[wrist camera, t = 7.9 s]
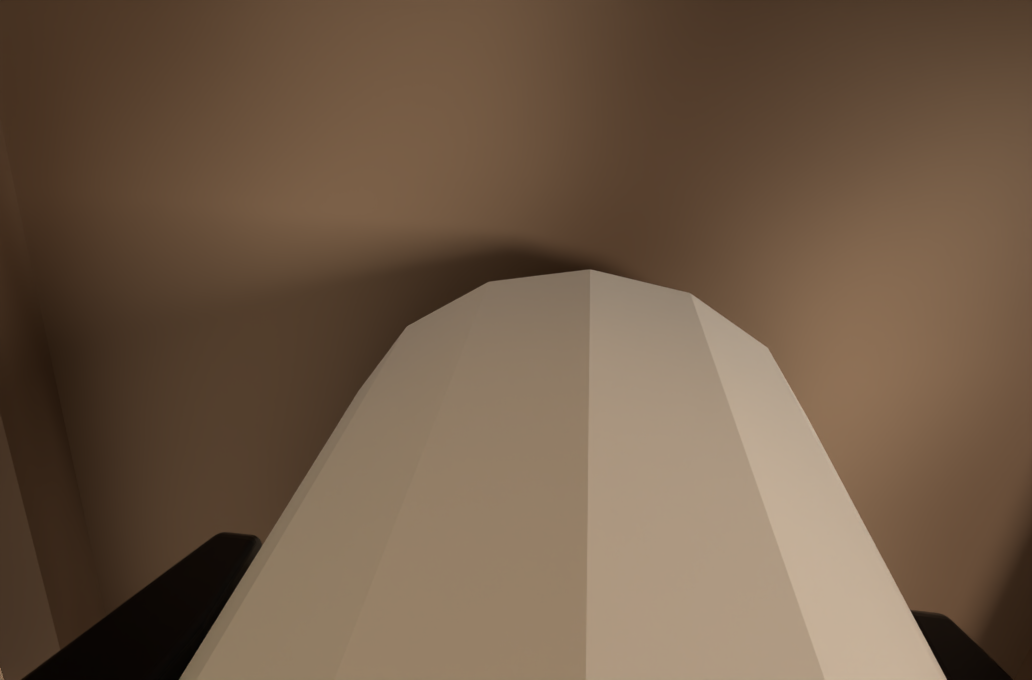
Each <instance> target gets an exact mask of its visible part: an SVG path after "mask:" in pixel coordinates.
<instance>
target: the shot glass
mask: <svg viewBox="0 0 1032 680" xmlns="http://www.w3.org/2000/svg"><path fill="white" fill-rule="evenodd" d="M179 680H947V679H946V677H945V675H944V673H943V671H942V669H941V667H940V666H939V664H938V662H937V660H936V658H935V656H934V654H933V652H932V651H931V649H930V647H929V645H928V643H927V641H926V639H925V637H924V636H923V634H922V632H921V630H920V628H919V626H918V624H917V622H916V620H915V619H914V617H913V615H912V613H911V611H910V609H909V607H908V605H907V604H906V602H905V600H904V598H903V596H902V594H901V592H900V590H899V588H898V587H897V585H896V583H895V581H894V579H893V577H892V575H891V573H890V572H889V570H888V568H887V566H886V564H885V562H884V560H883V558H882V557H881V555H880V553H879V551H878V549H877V547H876V545H875V543H874V541H873V540H872V538H871V536H870V534H869V532H868V530H867V528H866V526H865V525H864V523H863V521H862V519H861V517H860V515H859V513H858V511H857V510H856V508H855V506H854V504H853V502H852V500H851V498H850V496H849V494H848V493H847V491H846V489H845V487H844V485H843V483H842V481H841V479H840V478H839V476H838V474H837V472H836V470H835V468H834V466H833V464H832V462H831V461H830V459H829V457H828V455H827V453H826V451H825V449H824V447H823V446H822V444H821V442H820V440H819V438H818V436H817V434H816V432H815V431H814V429H813V427H812V425H811V423H810V421H809V419H808V418H807V416H806V414H805V412H804V411H803V409H802V407H801V405H800V404H799V402H798V400H797V398H796V396H795V395H794V393H793V391H792V389H791V388H790V386H789V384H788V382H787V381H786V379H785V377H784V375H783V374H782V372H781V370H780V368H779V367H778V365H777V363H776V361H775V360H774V358H773V356H772V354H771V353H770V351H769V349H768V348H767V347H766V346H764V345H763V344H762V343H760V342H759V341H757V340H756V339H754V338H753V337H752V336H750V335H749V334H747V333H746V332H745V331H743V330H742V329H740V328H739V327H737V326H736V325H735V324H733V323H732V322H730V321H729V320H728V319H726V318H725V317H723V316H722V315H720V314H719V313H718V312H716V311H715V310H713V309H712V308H711V307H709V306H708V305H706V304H705V303H703V302H702V301H701V300H699V299H698V298H696V297H695V296H694V295H692V294H691V293H687V292H683V291H679V290H675V289H671V288H666V287H662V286H658V285H654V284H650V283H646V282H641V281H637V280H633V279H629V278H625V277H621V276H616V275H612V274H608V273H604V272H600V271H595V270H591V269H588V270H580V271H572V272H564V273H555V274H547V275H539V276H531V277H523V278H515V279H506V280H498V281H490V282H487V283H485V284H484V285H482V286H480V287H478V288H476V289H474V290H473V291H471V292H469V293H467V294H465V295H463V296H462V297H460V298H458V299H456V300H454V301H452V302H451V303H449V304H447V305H445V306H443V307H441V308H440V309H438V310H436V311H434V312H432V313H430V314H428V315H427V316H425V317H423V318H421V319H419V320H417V321H416V322H414V323H412V324H410V325H408V326H407V327H406V328H405V330H404V331H403V332H402V334H401V335H400V336H399V338H398V339H397V340H396V342H395V343H394V344H393V346H392V347H391V348H390V350H389V351H388V352H387V354H386V355H385V356H384V358H383V359H382V360H381V362H380V363H379V364H378V366H377V367H376V368H375V370H374V371H373V372H372V374H371V375H370V376H369V378H368V379H367V380H366V382H365V383H364V384H363V386H362V387H361V388H360V390H359V391H358V392H357V394H356V396H355V397H354V399H353V401H352V402H351V404H350V405H349V407H348V409H347V410H346V412H345V413H344V415H343V417H342V418H341V420H340V421H339V423H338V425H337V426H336V428H335V429H334V431H333V433H332V434H331V436H330V438H329V439H328V441H327V442H326V444H325V446H324V447H323V449H322V450H321V452H320V454H319V455H318V457H317V458H316V460H315V462H314V463H313V465H312V466H311V468H310V470H309V471H308V473H307V475H306V476H305V478H304V479H303V481H302V483H301V484H300V486H299V487H298V489H297V491H296V492H295V494H294V495H293V497H292V499H291V500H290V502H289V503H288V505H287V507H286V508H285V510H284V512H283V513H282V515H281V516H280V518H279V520H278V521H277V523H276V524H275V526H274V528H273V529H272V531H271V532H270V534H269V536H268V537H267V539H266V540H265V542H264V544H263V545H262V547H261V549H260V550H259V552H258V553H257V555H256V557H255V558H254V560H253V561H252V563H251V565H250V566H249V568H248V569H247V571H246V573H245V574H244V576H243V577H242V579H241V581H240V582H239V584H238V586H237V587H236V589H235V590H234V592H233V594H232V595H231V597H230V598H229V600H228V602H227V603H226V605H225V606H224V608H223V610H222V611H221V613H220V614H219V616H218V618H217V619H216V621H215V623H214V624H213V626H212V627H211V629H210V631H209V632H208V634H207V635H206V637H205V639H204V640H203V642H202V643H201V645H200V647H199V648H198V650H197V651H196V653H195V655H194V656H193V658H192V660H191V661H190V663H189V664H188V666H187V668H186V669H185V671H184V672H183V674H182V676H181V677H180V679H179Z"/></svg>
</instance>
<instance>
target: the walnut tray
mask: <svg viewBox="0 0 1032 680" xmlns="http://www.w3.org/2000/svg"><path fill="white" fill-rule="evenodd" d="M588 269H591V270H595V271H600V272H604V273H608V274H612V275H616V276H621V277H625V278H629V279H633V280H637V281H641V282H646V283H650V284H654V285H658V286H662V287H666V288H671V289H675V290H679V291H683V292H687V293H691V294H692V295H694V296H695V297H696V298H698V299H699V300H701V301H702V302H703V303H705V304H706V305H708V306H709V307H711V308H712V309H713V310H715V311H716V312H718V313H719V314H720V315H722V316H723V317H725V318H726V319H728V320H729V321H730V322H732V323H733V324H735V325H736V326H737V327H739V328H740V329H742V330H743V331H745V332H746V333H747V334H749V335H750V336H752V337H753V338H754V339H756V340H757V341H759V342H760V343H762V344H763V345H764V346H766V347H767V348H768V349H769V351H770V353H771V354H772V356H773V358H774V360H775V361H776V363H777V365H778V367H779V368H780V370H781V372H782V374H783V375H784V377H785V379H786V381H787V382H788V384H789V386H790V388H791V389H792V391H793V393H794V395H795V396H796V398H797V400H798V402H799V404H800V405H801V407H802V409H803V411H804V412H805V414H806V416H807V418H808V419H809V421H810V423H811V425H812V427H813V429H814V431H815V432H816V434H817V436H818V438H819V440H820V442H821V444H822V446H823V447H824V449H825V451H826V453H827V455H828V457H829V459H830V461H831V462H832V464H833V466H834V468H835V470H836V472H837V474H838V476H839V478H840V479H841V481H842V483H843V485H844V487H845V489H846V491H847V493H848V494H849V496H850V498H851V500H852V502H853V504H854V506H855V508H856V510H857V511H858V513H859V515H860V517H861V519H862V521H863V523H864V525H865V526H866V528H867V530H868V532H869V534H870V536H871V538H872V540H873V541H874V543H875V545H876V547H877V549H878V551H879V553H880V555H881V557H882V558H883V560H884V562H885V564H886V566H887V568H888V570H889V572H890V573H891V575H892V577H893V579H894V581H895V583H896V585H897V587H898V588H899V590H900V592H901V594H902V596H903V598H904V600H905V602H906V604H907V605H908V607H909V609H910V610H917V611H926V612H935V613H940V614H943V615H945V616H947V617H948V618H950V619H951V620H952V621H953V622H954V623H955V624H956V625H958V626H959V627H960V628H961V629H962V630H963V631H964V632H965V633H966V634H967V635H968V636H969V637H970V638H971V639H972V640H973V641H974V642H975V643H976V644H977V645H978V646H979V647H980V648H981V649H983V650H984V651H985V652H986V653H987V654H988V655H989V656H990V657H991V658H992V659H993V660H994V661H995V662H996V663H997V664H998V665H999V666H1000V667H1001V668H1002V669H1003V670H1004V671H1005V672H1006V673H1008V674H1009V675H1010V676H1011V677H1012V678H1013V679H1014V680H1032V0H0V667H1V670H2V673H3V676H4V680H20V679H22V678H23V677H24V676H26V675H27V674H29V673H30V672H31V671H33V670H34V669H35V668H37V667H38V666H39V665H41V664H42V663H43V662H45V661H46V660H47V659H49V658H50V657H51V656H53V655H54V654H55V653H57V652H58V651H59V650H61V649H62V648H63V647H65V646H66V645H68V644H69V643H70V642H72V641H73V640H74V639H76V638H77V637H78V636H80V635H81V634H82V633H84V632H85V631H86V630H88V629H89V628H90V627H92V626H93V625H94V624H96V623H97V622H98V621H100V620H101V619H103V618H104V617H105V616H107V615H108V614H109V613H111V612H112V611H113V610H115V609H116V608H117V607H119V606H120V605H121V604H123V603H124V602H125V601H127V600H128V599H129V598H131V597H132V596H133V595H135V594H136V593H138V592H139V591H140V590H142V589H143V588H144V587H146V586H147V585H148V584H150V583H151V582H152V581H154V580H155V579H156V578H158V577H159V576H160V575H162V574H163V573H164V572H166V571H167V570H168V569H170V568H171V567H173V566H174V565H175V564H177V563H178V562H179V561H181V560H182V559H183V558H185V557H186V556H187V555H189V554H190V553H191V552H193V551H194V550H195V549H197V548H198V547H199V546H201V545H202V544H203V543H205V542H206V541H208V540H209V539H210V538H212V537H213V536H215V535H216V534H219V533H221V532H231V533H240V534H249V535H255V536H257V537H258V538H259V539H260V540H261V543H262V545H263V544H264V542H265V540H266V539H267V537H268V536H269V534H270V532H271V531H272V529H273V528H274V526H275V524H276V523H277V521H278V520H279V518H280V516H281V515H282V513H283V512H284V510H285V508H286V507H287V505H288V503H289V502H290V500H291V499H292V497H293V495H294V494H295V492H296V491H297V489H298V487H299V486H300V484H301V483H302V481H303V479H304V478H305V476H306V475H307V473H308V471H309V470H310V468H311V466H312V465H313V463H314V462H315V460H316V458H317V457H318V455H319V454H320V452H321V450H322V449H323V447H324V446H325V444H326V442H327V441H328V439H329V438H330V436H331V434H332V433H333V431H334V429H335V428H336V426H337V425H338V423H339V421H340V420H341V418H342V417H343V415H344V413H345V412H346V410H347V409H348V407H349V405H350V404H351V402H352V401H353V399H354V397H355V396H356V394H357V392H358V391H359V390H360V388H361V387H362V386H363V384H364V383H365V382H366V380H367V379H368V378H369V376H370V375H371V374H372V372H373V371H374V370H375V368H376V367H377V366H378V364H379V363H380V362H381V360H382V359H383V358H384V356H385V355H386V354H387V352H388V351H389V350H390V348H391V347H392V346H393V344H394V343H395V342H396V340H397V339H398V338H399V336H400V335H401V334H402V332H403V331H404V330H405V328H406V327H407V326H408V325H410V324H412V323H414V322H416V321H417V320H419V319H421V318H423V317H425V316H427V315H428V314H430V313H432V312H434V311H436V310H438V309H440V308H441V307H443V306H445V305H447V304H449V303H451V302H452V301H454V300H456V299H458V298H460V297H462V296H463V295H465V294H467V293H469V292H471V291H473V290H474V289H476V288H478V287H480V286H482V285H484V284H485V283H487V282H490V281H498V280H506V279H515V278H523V277H531V276H539V275H547V274H555V273H564V272H572V271H580V270H588Z"/></svg>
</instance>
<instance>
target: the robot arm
mask: <svg viewBox="0 0 1032 680" xmlns="http://www.w3.org/2000/svg"><path fill="white" fill-rule="evenodd" d="M261 547H262V543H261V540H260V539H259V538H258V537H257V536H255V535H249V534H240V533H231V532H221V533H219V534H216V535H215V536H213V537H212V538H210V539H209V540H208V541H206V542H205V543H203V544H202V545H201V546H199V547H198V548H197V549H195V550H194V551H193V552H191V553H190V554H189V555H187V556H186V557H185V558H183V559H182V560H181V561H179V562H178V563H177V564H175V565H174V566H173V567H171V568H170V569H168V570H167V571H166V572H164V573H163V574H162V575H160V576H159V577H158V578H156V579H155V580H154V581H152V582H151V583H150V584H148V585H147V586H146V587H144V588H143V589H142V590H140V591H139V592H138V593H136V594H135V595H133V596H132V597H131V598H129V599H128V600H127V601H125V602H124V603H123V604H121V605H120V606H119V607H117V608H116V609H115V610H113V611H112V612H111V613H109V614H108V615H107V616H105V617H104V618H103V619H101V620H100V621H98V622H97V623H96V624H94V625H93V626H92V627H90V628H89V629H88V630H86V631H85V632H84V633H82V634H81V635H80V636H78V637H77V638H76V639H74V640H73V641H72V642H70V643H69V644H68V645H66V646H65V647H63V648H62V649H61V650H59V651H58V652H57V653H55V654H54V655H53V656H51V657H50V658H49V659H47V660H46V661H45V662H43V663H42V664H41V665H39V666H38V667H37V668H35V669H34V670H33V671H31V672H30V673H29V674H27V675H26V676H24V677H23V678H22V679H20V680H179V679H180V677H181V676H182V674H183V672H184V671H185V669H186V668H187V666H188V664H189V663H190V661H191V660H192V658H193V656H194V655H195V653H196V651H197V650H198V648H199V647H200V645H201V643H202V642H203V640H204V639H205V637H206V635H207V634H208V632H209V631H210V629H211V627H212V626H213V624H214V623H215V621H216V619H217V618H218V616H219V614H220V613H221V611H222V610H223V608H224V606H225V605H226V603H227V602H228V600H229V598H230V597H231V595H232V594H233V592H234V590H235V589H236V587H237V586H238V584H239V582H240V581H241V579H242V577H243V576H244V574H245V573H246V571H247V569H248V568H249V566H250V565H251V563H252V561H253V560H254V558H255V557H256V555H257V553H258V552H259V550H260V549H261ZM910 611H911V613H912V615H913V617H914V619H915V620H916V622H917V624H918V626H919V628H920V630H921V632H922V634H923V636H924V637H925V639H926V641H927V643H928V645H929V647H930V649H931V651H932V652H933V654H934V656H935V658H936V660H937V662H938V664H939V666H940V667H941V669H942V671H943V673H944V675H945V677H946V679H947V680H1014V679H1013V678H1012V677H1011V676H1010V675H1009V674H1008V673H1006V672H1005V671H1004V670H1003V669H1002V668H1001V667H1000V666H999V665H998V664H997V663H996V662H995V661H994V660H993V659H992V658H991V657H990V656H989V655H988V654H987V653H986V652H985V651H984V650H983V649H981V648H980V647H979V646H978V645H977V644H976V643H975V642H974V641H973V640H972V639H971V638H970V637H969V636H968V635H967V634H966V633H965V632H964V631H963V630H962V629H961V628H960V627H959V626H958V625H956V624H955V623H954V622H953V621H952V620H951V619H950V618H948V617H947V616H945V615H943V614H940V613H935V612H926V611H917V610H910Z"/></svg>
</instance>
